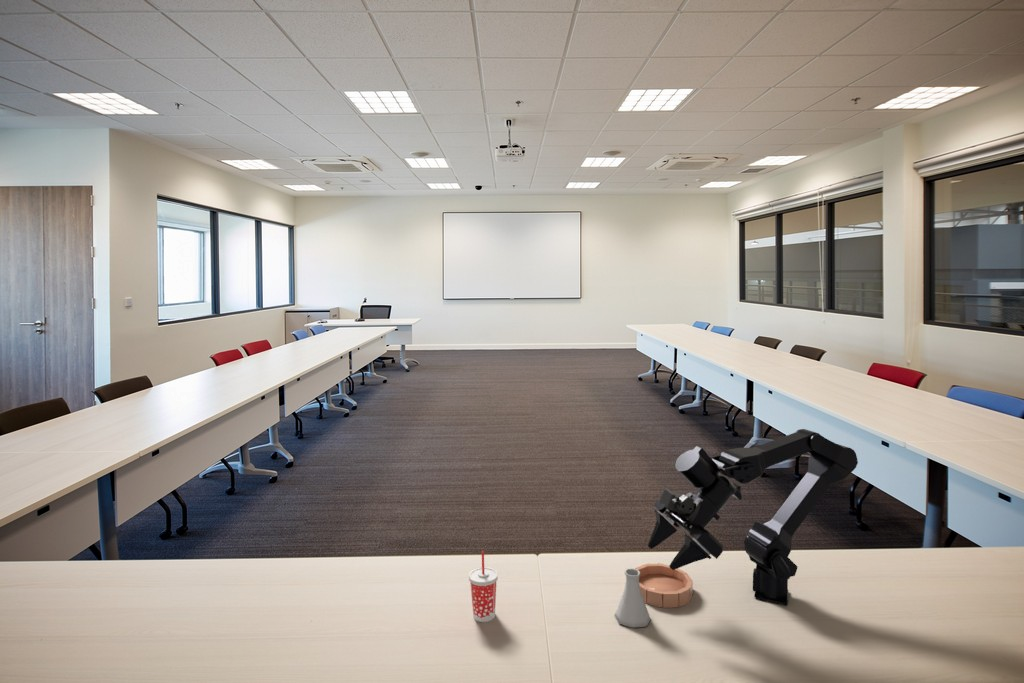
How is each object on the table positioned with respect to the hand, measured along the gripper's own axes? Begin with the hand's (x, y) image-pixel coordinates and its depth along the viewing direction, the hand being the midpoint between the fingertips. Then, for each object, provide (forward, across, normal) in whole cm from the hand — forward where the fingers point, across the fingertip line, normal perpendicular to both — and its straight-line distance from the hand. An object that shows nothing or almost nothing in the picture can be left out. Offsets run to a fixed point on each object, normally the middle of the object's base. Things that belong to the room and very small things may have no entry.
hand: (659, 557), depth 110 cm
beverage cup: (+34, -9, -16) cm, 39 cm away
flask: (+13, 0, +5) cm, 14 cm away
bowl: (+5, -8, +12) cm, 15 cm away
